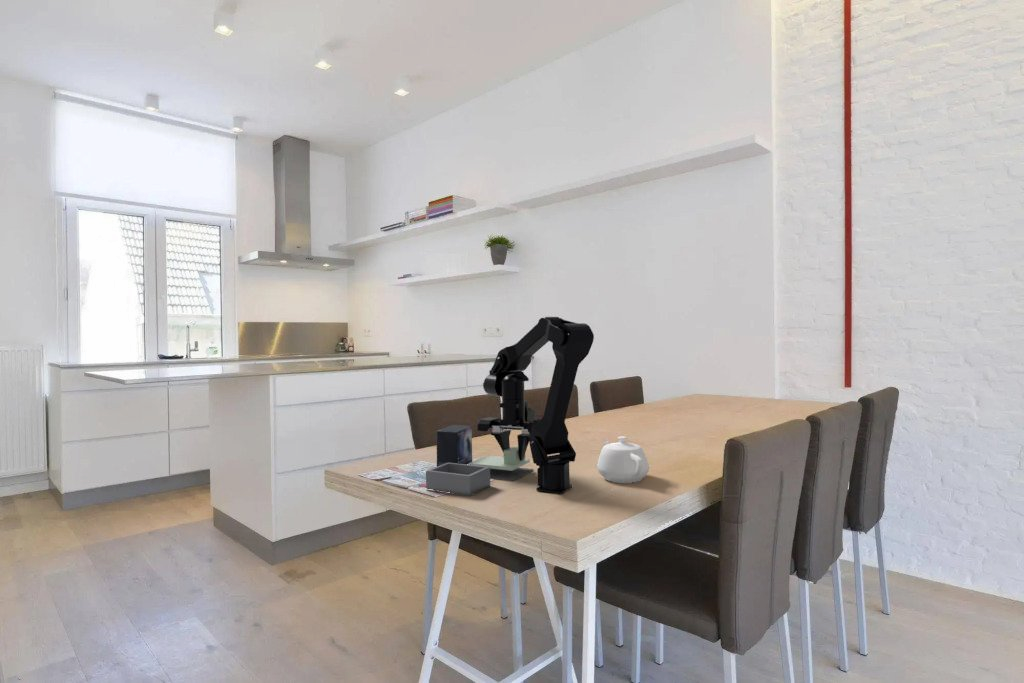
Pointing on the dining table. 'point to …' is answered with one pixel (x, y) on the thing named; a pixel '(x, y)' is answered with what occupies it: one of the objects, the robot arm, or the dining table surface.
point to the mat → (509, 473)
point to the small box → (454, 445)
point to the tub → (458, 478)
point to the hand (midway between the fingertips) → (514, 459)
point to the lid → (502, 460)
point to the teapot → (622, 462)
